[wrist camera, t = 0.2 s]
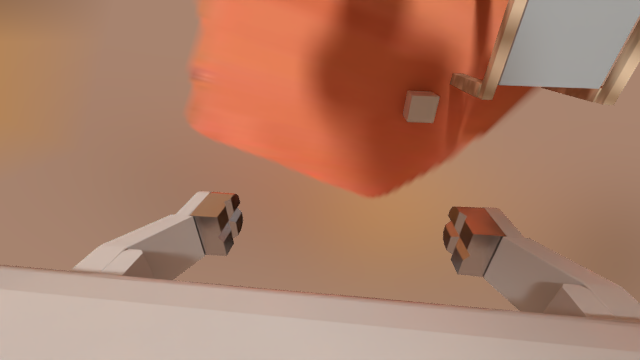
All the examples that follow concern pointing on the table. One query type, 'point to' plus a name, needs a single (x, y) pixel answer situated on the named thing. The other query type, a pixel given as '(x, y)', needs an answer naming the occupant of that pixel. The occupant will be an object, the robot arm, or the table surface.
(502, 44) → the frame
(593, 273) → the robot arm
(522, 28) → the trapdoor
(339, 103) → the table surface
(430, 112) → the block
